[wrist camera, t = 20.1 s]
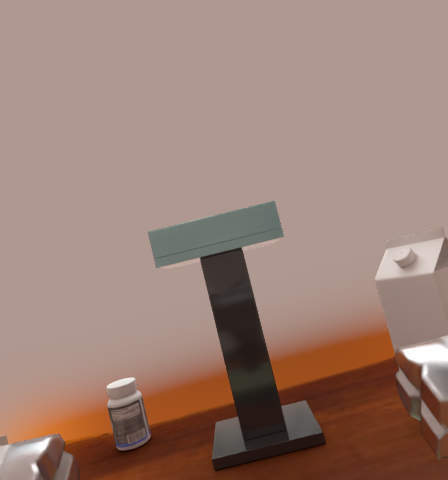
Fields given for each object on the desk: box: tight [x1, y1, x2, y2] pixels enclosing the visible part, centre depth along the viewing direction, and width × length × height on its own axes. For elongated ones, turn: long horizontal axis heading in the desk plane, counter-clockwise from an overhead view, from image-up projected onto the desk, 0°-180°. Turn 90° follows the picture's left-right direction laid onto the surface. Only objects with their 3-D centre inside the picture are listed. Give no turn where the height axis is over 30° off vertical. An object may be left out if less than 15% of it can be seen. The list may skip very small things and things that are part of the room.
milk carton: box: [375, 227, 448, 370], centre depth 43 cm, size 7×7×19 cm
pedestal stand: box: [148, 201, 326, 470], centre depth 47 cm, size 14×12×26 cm
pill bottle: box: [107, 378, 151, 451], centre depth 55 cm, size 5×5×8 cm
